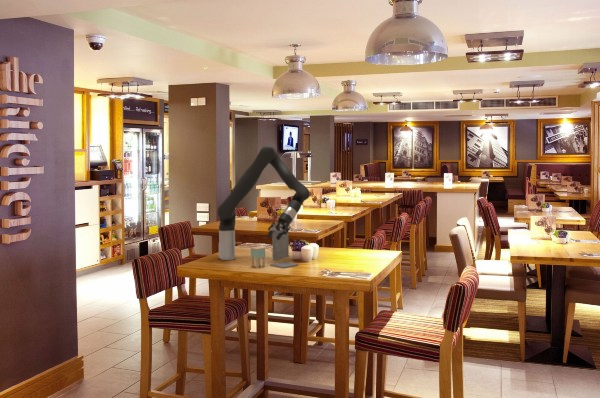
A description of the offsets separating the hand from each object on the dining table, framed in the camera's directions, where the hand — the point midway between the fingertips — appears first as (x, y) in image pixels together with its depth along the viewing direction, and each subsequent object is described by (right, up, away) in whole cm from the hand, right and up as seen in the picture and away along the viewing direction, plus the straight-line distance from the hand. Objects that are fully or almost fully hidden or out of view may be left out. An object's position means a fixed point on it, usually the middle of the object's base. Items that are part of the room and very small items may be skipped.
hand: (272, 238), depth 348 cm
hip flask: (+4, -13, +20) cm, 25 cm away
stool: (-8, -15, -6) cm, 18 cm away
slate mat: (+7, -15, -4) cm, 17 cm away
